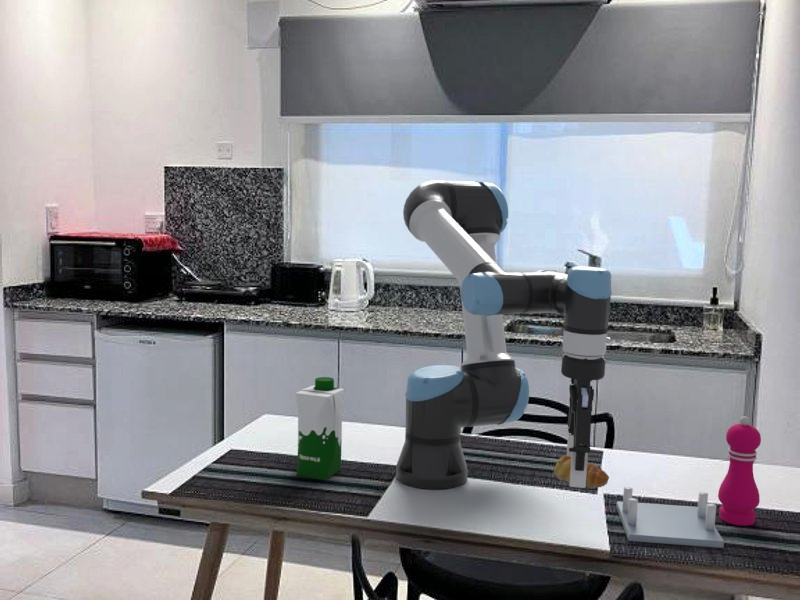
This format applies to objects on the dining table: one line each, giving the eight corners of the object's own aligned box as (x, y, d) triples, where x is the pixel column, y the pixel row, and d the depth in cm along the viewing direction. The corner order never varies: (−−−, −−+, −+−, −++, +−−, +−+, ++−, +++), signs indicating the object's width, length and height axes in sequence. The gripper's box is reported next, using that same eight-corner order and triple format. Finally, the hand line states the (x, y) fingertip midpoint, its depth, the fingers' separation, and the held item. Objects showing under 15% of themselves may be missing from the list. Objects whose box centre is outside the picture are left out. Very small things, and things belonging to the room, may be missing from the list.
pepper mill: (709, 512, 157) (717, 411, 155) (745, 512, 158) (753, 411, 156) (727, 527, 150) (736, 421, 148) (765, 526, 151) (774, 421, 148)
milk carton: (346, 469, 177) (348, 379, 174) (327, 482, 168) (328, 387, 166) (310, 463, 180) (311, 374, 177) (290, 476, 172) (290, 383, 169)
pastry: (614, 482, 146) (615, 462, 146) (598, 493, 141) (599, 472, 141) (566, 469, 152) (567, 450, 152) (549, 480, 147) (550, 459, 146)
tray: (628, 540, 143) (630, 509, 142) (616, 507, 159) (618, 478, 158) (723, 547, 141) (726, 516, 140) (701, 513, 157) (703, 484, 156)
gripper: (613, 369, 133) (603, 501, 137) (599, 344, 154) (590, 459, 157) (566, 366, 134) (557, 497, 138) (558, 341, 155) (551, 456, 158)
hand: (575, 477), depth 147 cm, fingers closed on pastry, 8 cm apart
